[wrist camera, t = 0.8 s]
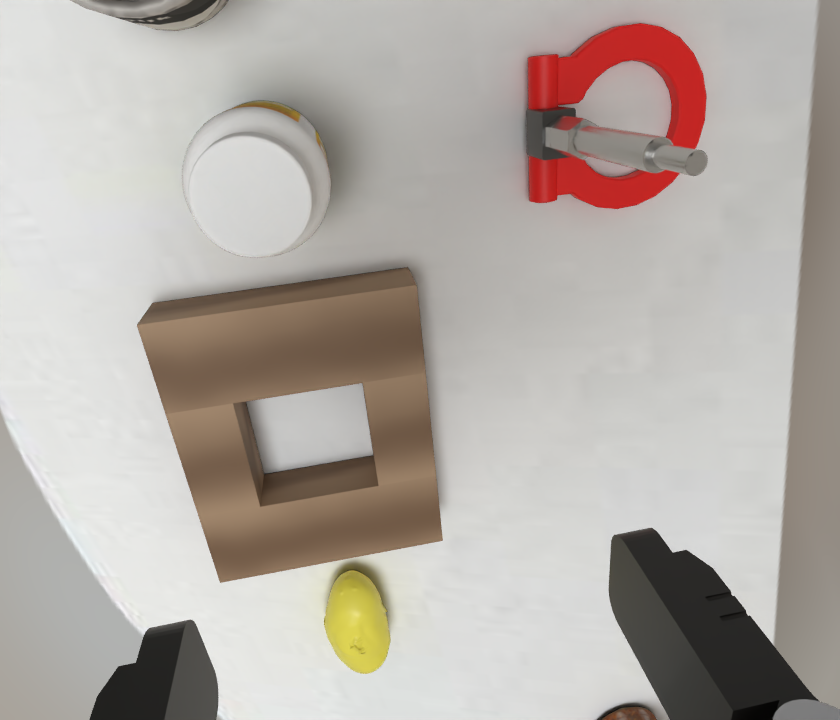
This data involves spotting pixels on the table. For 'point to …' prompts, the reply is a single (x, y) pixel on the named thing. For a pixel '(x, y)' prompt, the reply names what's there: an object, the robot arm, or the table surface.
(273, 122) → the supplement bottle
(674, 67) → the tow hook
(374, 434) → the socket plate
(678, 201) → the table surface
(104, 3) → the mug
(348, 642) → the yellow potato
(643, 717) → the sauce bottle
